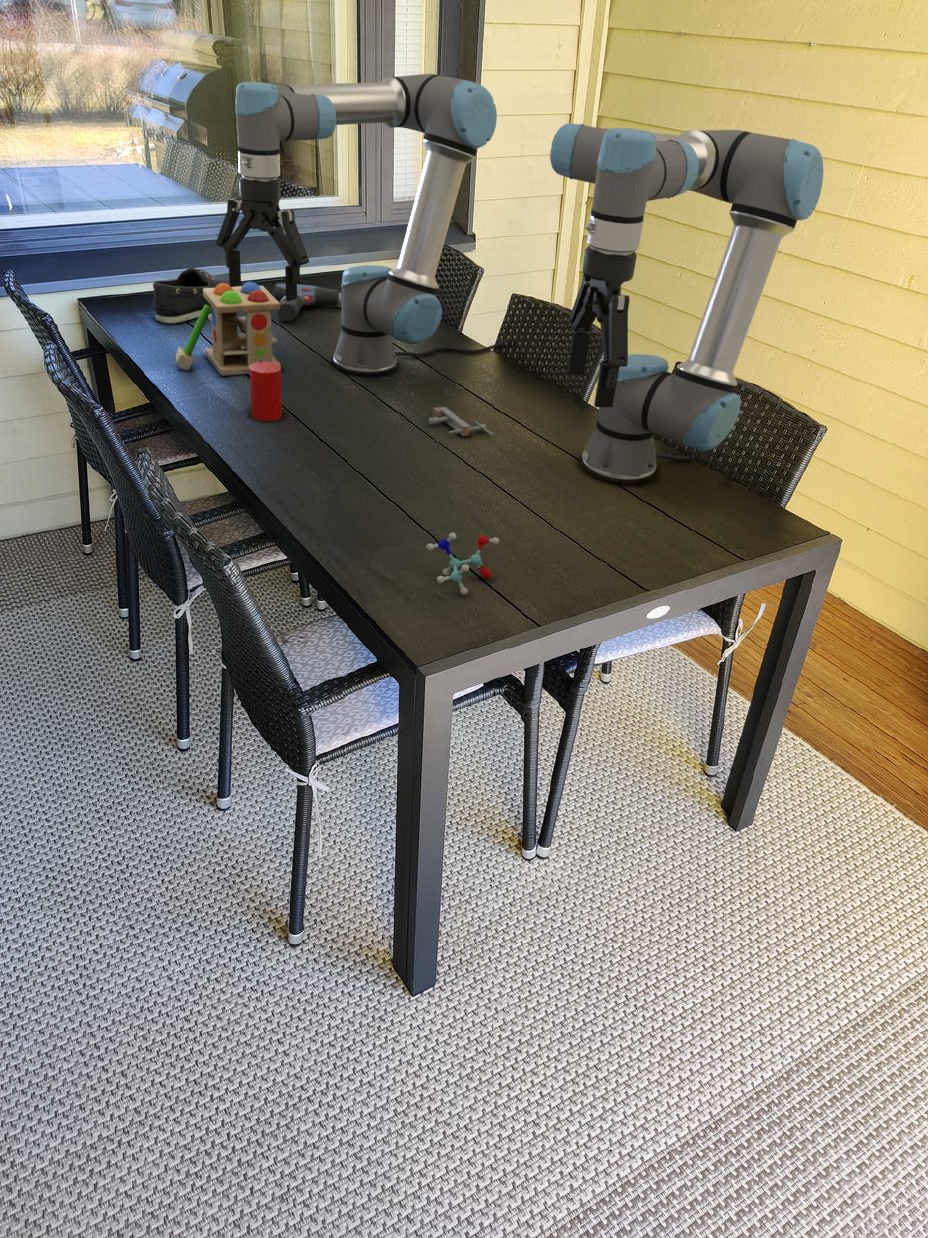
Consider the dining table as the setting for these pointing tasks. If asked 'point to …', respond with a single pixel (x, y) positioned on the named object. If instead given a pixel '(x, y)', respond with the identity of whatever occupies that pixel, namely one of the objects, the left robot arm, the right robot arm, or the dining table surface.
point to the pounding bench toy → (234, 329)
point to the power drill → (304, 299)
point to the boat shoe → (184, 295)
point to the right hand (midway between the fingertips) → (588, 389)
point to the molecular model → (455, 563)
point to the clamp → (455, 422)
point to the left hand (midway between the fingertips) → (263, 292)
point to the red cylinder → (266, 391)
